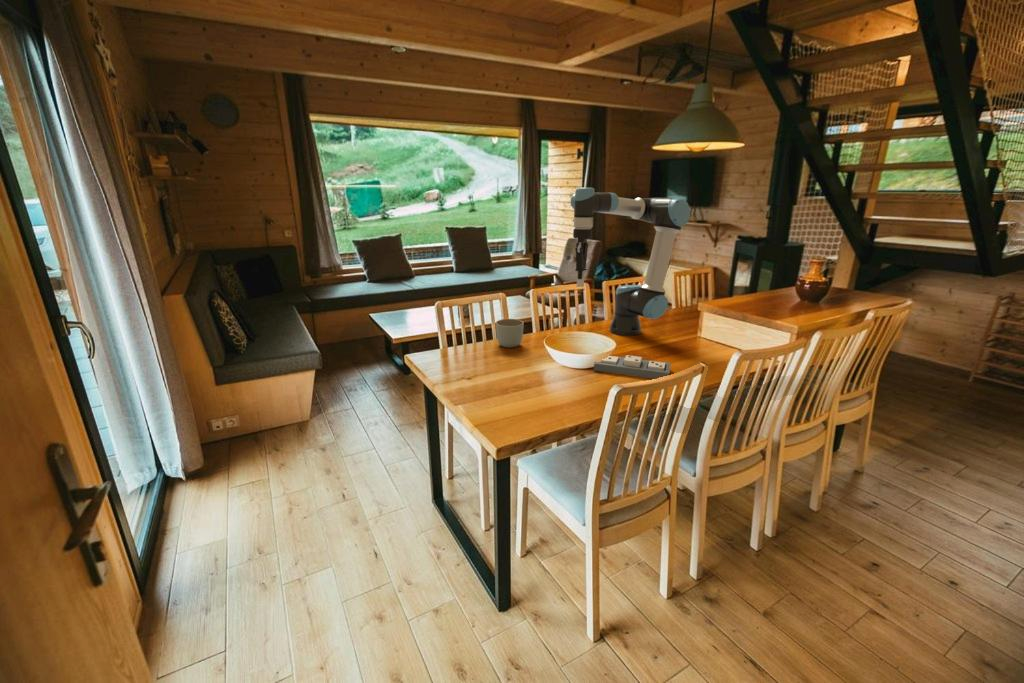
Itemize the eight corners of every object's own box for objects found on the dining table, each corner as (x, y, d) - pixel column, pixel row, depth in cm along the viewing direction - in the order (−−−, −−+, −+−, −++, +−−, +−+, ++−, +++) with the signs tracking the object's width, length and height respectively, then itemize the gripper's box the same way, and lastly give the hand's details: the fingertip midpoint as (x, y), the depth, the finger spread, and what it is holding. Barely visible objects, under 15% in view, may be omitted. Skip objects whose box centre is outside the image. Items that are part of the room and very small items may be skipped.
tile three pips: (648, 366, 186) (649, 360, 185) (664, 368, 184) (665, 362, 183) (647, 372, 180) (647, 365, 180) (663, 374, 178) (664, 367, 178)
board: (599, 361, 195) (599, 354, 194) (670, 370, 186) (670, 363, 185) (593, 370, 185) (594, 363, 184) (668, 380, 176) (669, 373, 175)
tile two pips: (625, 361, 188) (626, 354, 188) (641, 362, 186) (641, 356, 186) (623, 366, 183) (624, 359, 182) (639, 368, 181) (640, 361, 180)
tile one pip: (603, 360, 192) (603, 354, 191) (618, 362, 190) (618, 356, 189) (600, 365, 187) (600, 359, 186) (615, 367, 185) (616, 361, 184)
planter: (525, 341, 219) (525, 319, 216) (520, 350, 207) (521, 327, 204) (499, 340, 221) (498, 318, 218) (493, 349, 209) (493, 325, 206)
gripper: (577, 226, 195) (575, 282, 202) (569, 229, 183) (567, 288, 191) (595, 227, 192) (592, 284, 200) (588, 229, 181) (585, 290, 188)
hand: (580, 286), depth 195 cm, fingers closed
